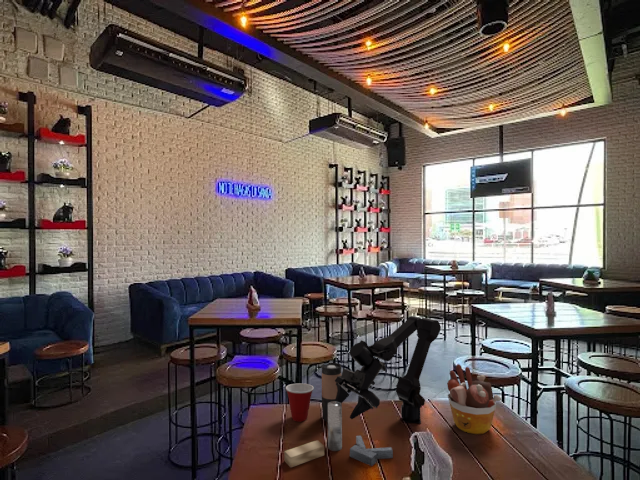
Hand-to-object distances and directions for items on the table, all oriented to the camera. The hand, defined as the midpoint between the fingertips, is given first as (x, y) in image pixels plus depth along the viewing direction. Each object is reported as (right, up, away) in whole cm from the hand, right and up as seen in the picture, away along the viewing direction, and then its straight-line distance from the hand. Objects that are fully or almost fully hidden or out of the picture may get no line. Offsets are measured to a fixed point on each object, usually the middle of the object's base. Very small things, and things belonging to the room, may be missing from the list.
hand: (342, 413), depth 124 cm
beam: (-12, -10, -8) cm, 18 cm away
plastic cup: (-15, -11, +19) cm, 26 cm away
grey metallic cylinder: (-3, -10, -2) cm, 11 cm away
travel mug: (-3, -11, +19) cm, 22 cm away
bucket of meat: (+48, -10, +12) cm, 50 cm away
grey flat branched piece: (+8, -10, -6) cm, 14 cm away
